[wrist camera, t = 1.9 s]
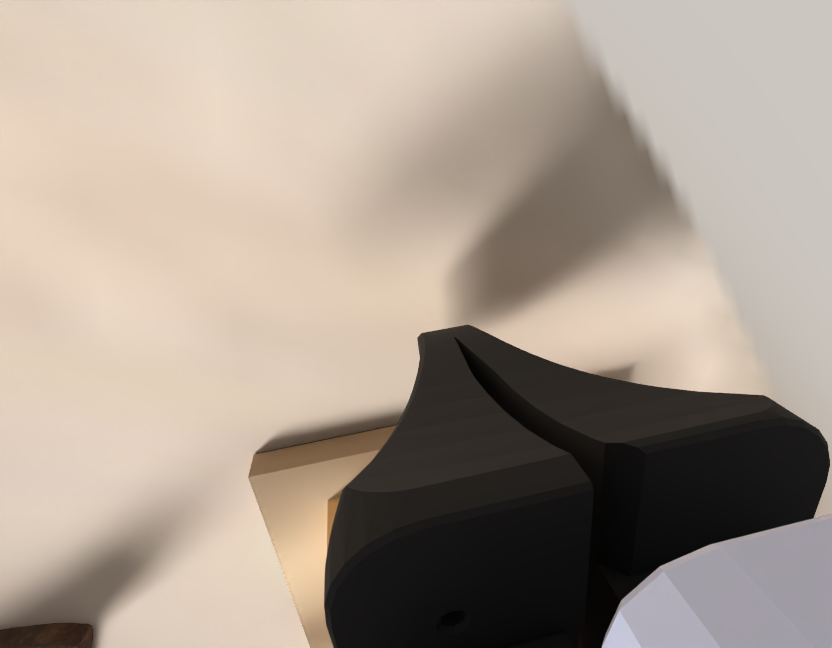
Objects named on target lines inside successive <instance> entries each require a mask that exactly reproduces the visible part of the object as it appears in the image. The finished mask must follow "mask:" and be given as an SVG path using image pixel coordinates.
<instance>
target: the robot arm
mask: <svg viewBox="0 0 832 648" xmlns="http://www.w3.org/2000/svg"><path fill="white" fill-rule="evenodd" d="M417 339H418V346H419V354H420V362H419V368H418V373H417V377H416V380H415V384H414V388H413V391H412V394H411V396H410V399H409V401H408V404H407V406H406V408H405V410H404V413H403V415H402V416H401V418H400V420H399V422H398V424H397V426H396V427H395V429H394V431H393V432H392V434H391V435H390V437H389V438H388V440H387V441H386V442H385V444H384V445H383V446H382V448H381V449H380V450H379V452H378V453H377V454H376V456H375V457H374V458H373V460H372V461H371V462H370V463H369V464H368V465H367V466H366V467H365V468H364V469H363V470H362V471H361V472H360V473H359V474H358V475H357V476H356V477H355V478H354V479H353V480H352V481H351V482H350V483H349V484H348V485H346V486H345V487H344V489H343V490H342V493H341V496H340V499H339V503H338V506H337V510H336V513H335V517H334V521H333V525H332V529H331V534H330V539H329V544H328V550H327V557H326V564H325V582H324V610H325V619H326V626H327V629H328V632H329V635H330V638H331V641H332V644H333V647H334V648H832V514H829V515H825V516H821V517H817V518H814V515H815V512H816V509H817V506H818V504H819V501H820V498H821V495H822V492H823V490H824V487H825V484H826V481H827V476H828V472H829V467H830V459H829V451H828V444H827V442H826V440H825V439H824V437H823V436H822V434H821V433H820V431H819V430H818V429H817V428H815V427H814V426H812V425H810V424H809V423H807V422H806V421H804V420H803V419H801V418H799V417H798V416H796V415H795V414H793V413H792V412H790V411H789V410H787V409H785V408H784V407H782V406H781V405H779V404H778V403H776V402H774V401H773V400H771V399H770V398H768V397H766V396H764V395H747V394H729V393H711V392H696V391H687V390H678V389H670V388H662V387H654V386H648V385H642V384H636V383H630V382H625V381H621V380H616V379H611V378H606V377H602V376H598V375H593V374H589V373H586V372H583V371H579V370H576V369H572V368H569V367H566V366H562V365H560V364H557V363H554V362H551V361H548V360H546V359H543V358H541V357H538V356H535V355H533V354H530V353H528V352H526V351H523V350H521V349H519V348H517V347H515V346H512V345H510V344H508V343H506V342H504V341H502V340H500V339H498V338H496V337H494V336H492V335H490V334H488V333H486V332H484V331H481V330H479V329H477V328H475V327H473V326H470V325H464V326H458V327H453V328H448V329H442V330H437V331H431V332H426V333H421V334H420V336H419V337H418V338H417Z"/></svg>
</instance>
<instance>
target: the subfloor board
mask: <svg viewBox="0 0 832 648" xmlns="http://www.w3.org/2000/svg"><path fill="white" fill-rule="evenodd" d="M396 426H397V425H396ZM396 426H391V427H386V428H381V429H376V430H371V431H366V432H361V433H357V434H352V435H347V436H342V437H337V438H332V439H327V440H322V441H318V442H313V443H308V444H303V445H298V446H293V447H288V448H283V449H278V450H274V451H269V452H264V453H259V454H254V456H253V460H252V464H251V469H250V473H249V477H248V478H249V481H250V483H251V486H252V489H253V492H254V494H255V497H256V500H257V502H258V505H259V508H260V511H261V513H262V516H263V519H264V522H265V524H266V527H267V530H268V533H269V535H270V538H271V541H272V544H273V546H274V549H275V552H276V555H277V557H278V560H279V563H280V565H281V568H282V571H283V574H284V576H285V579H286V582H287V585H288V587H289V590H290V593H291V596H292V598H293V601H294V604H295V607H296V609H297V612H298V615H299V618H300V620H301V623H302V626H303V628H304V631H305V634H306V637H307V639H308V642H309V645H310V648H334V647H333V644H332V641H331V638H330V635H329V632H328V629H327V626H326V619H325V610H324V582H325V564H326V557H327V513H328V500H331V499H336V498H340V496H341V493H342V490H343V489H344V487H345V486H346V485H348V484H349V483H350V482H351V481H352V480H353V479H354V478H355V477H356V476H357V475H358V474H359V473H360V472H361V471H362V470H363V469H364V468H365V467H366V466H367V465H368V464H369V463H370V462H371V461H372V460H373V458H374V457H375V456H376V454H377V453H378V452H379V450H380V449H381V448H382V446H383V445H384V444H385V442H386V441H387V440H388V438H389V437H390V435H391V434H392V432H393V431H394V429H395V427H396Z"/></svg>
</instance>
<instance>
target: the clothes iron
mask: <svg viewBox="0 0 832 648" xmlns="http://www.w3.org/2000/svg"><path fill="white" fill-rule="evenodd" d="M92 640H93V629H92V626H90V625H89V624H74V623H53V624H43V625H34V626H27V627H18V628H10V629H4V630H0V648H92Z"/></svg>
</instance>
